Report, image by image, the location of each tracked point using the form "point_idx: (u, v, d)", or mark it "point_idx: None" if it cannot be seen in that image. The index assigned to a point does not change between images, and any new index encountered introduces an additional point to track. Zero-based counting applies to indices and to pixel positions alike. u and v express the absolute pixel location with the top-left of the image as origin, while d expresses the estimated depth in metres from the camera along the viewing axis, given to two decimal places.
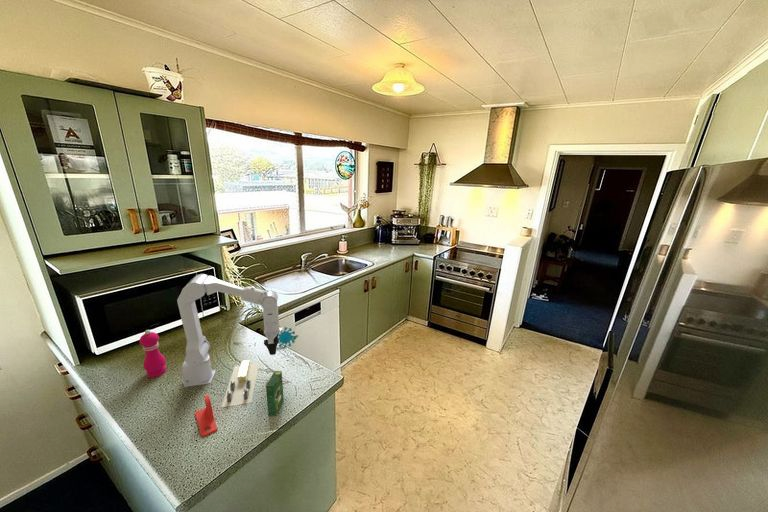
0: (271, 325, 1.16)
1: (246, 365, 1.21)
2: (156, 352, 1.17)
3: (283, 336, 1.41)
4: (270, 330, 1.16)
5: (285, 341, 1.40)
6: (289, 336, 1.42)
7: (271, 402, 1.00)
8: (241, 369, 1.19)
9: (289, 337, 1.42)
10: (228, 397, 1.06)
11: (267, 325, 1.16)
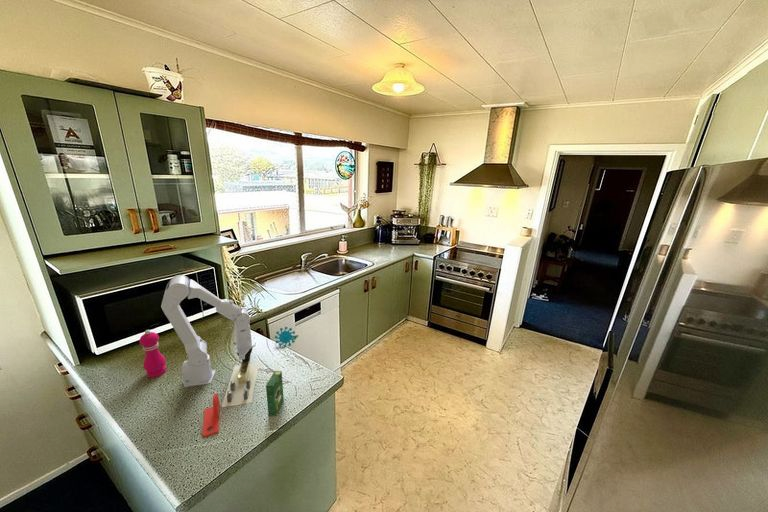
0: (243, 341, 1.19)
1: (246, 366, 1.21)
2: (156, 352, 1.17)
3: (283, 336, 1.41)
4: (242, 346, 1.20)
5: (285, 341, 1.40)
6: (289, 336, 1.42)
7: (271, 402, 1.00)
8: (241, 370, 1.18)
9: (289, 337, 1.42)
10: (228, 397, 1.06)
11: (239, 341, 1.19)
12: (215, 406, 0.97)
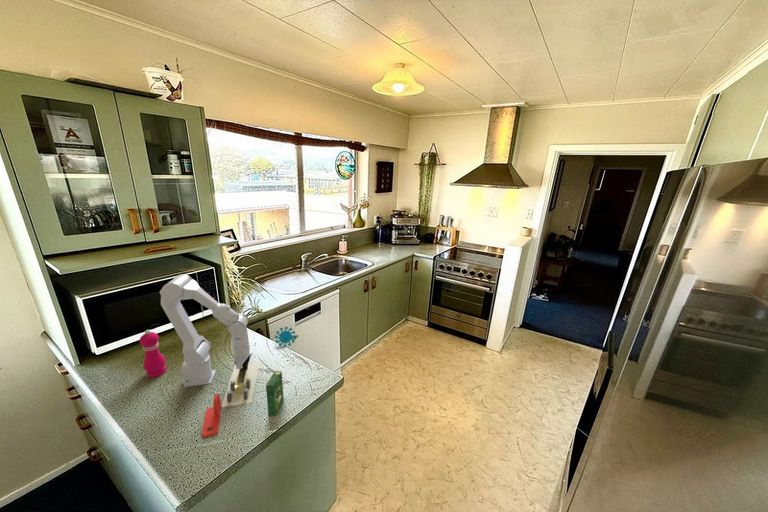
0: (240, 349, 1.14)
1: (243, 375, 1.16)
2: (156, 352, 1.17)
3: (283, 335, 1.41)
4: (239, 354, 1.15)
5: (285, 340, 1.41)
6: (289, 336, 1.42)
7: (271, 402, 1.00)
8: (238, 379, 1.13)
9: (289, 337, 1.42)
10: (228, 397, 1.06)
11: (236, 349, 1.14)
12: (215, 407, 0.97)
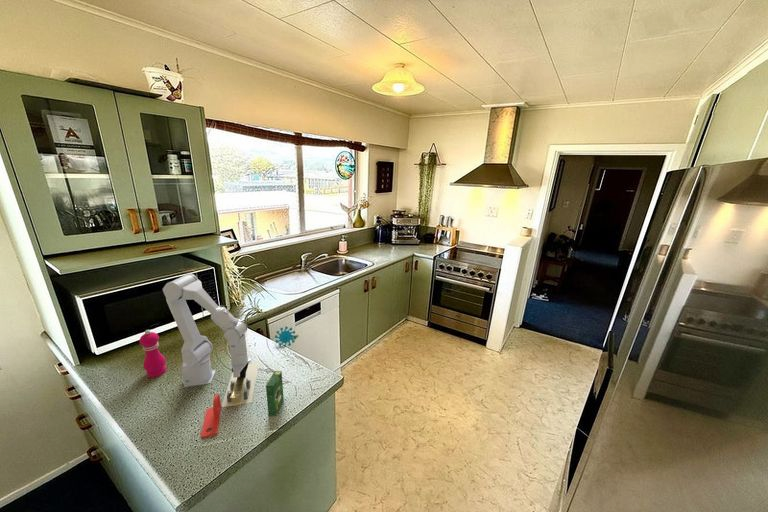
0: (238, 357, 1.10)
1: (241, 383, 1.11)
2: (156, 352, 1.17)
3: (283, 335, 1.41)
4: (236, 362, 1.10)
5: (285, 340, 1.41)
6: (289, 336, 1.42)
7: (271, 402, 1.00)
8: (235, 388, 1.09)
9: (289, 337, 1.42)
10: (228, 397, 1.06)
11: (233, 357, 1.09)
12: (215, 407, 0.97)
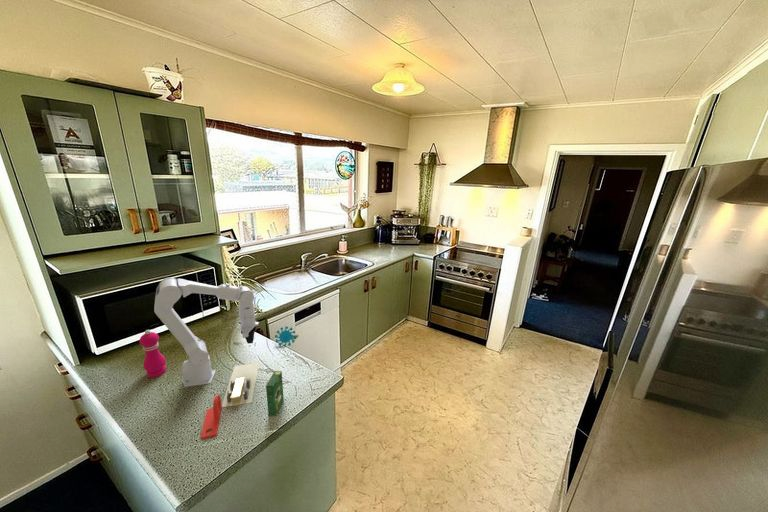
0: (246, 319, 1.19)
1: (241, 383, 1.11)
2: (156, 352, 1.17)
3: (283, 335, 1.42)
4: (245, 324, 1.20)
5: (285, 340, 1.41)
6: (289, 335, 1.42)
7: (271, 402, 1.00)
8: (235, 388, 1.09)
9: (289, 336, 1.42)
10: (228, 397, 1.06)
11: (242, 319, 1.19)
12: (215, 408, 0.97)
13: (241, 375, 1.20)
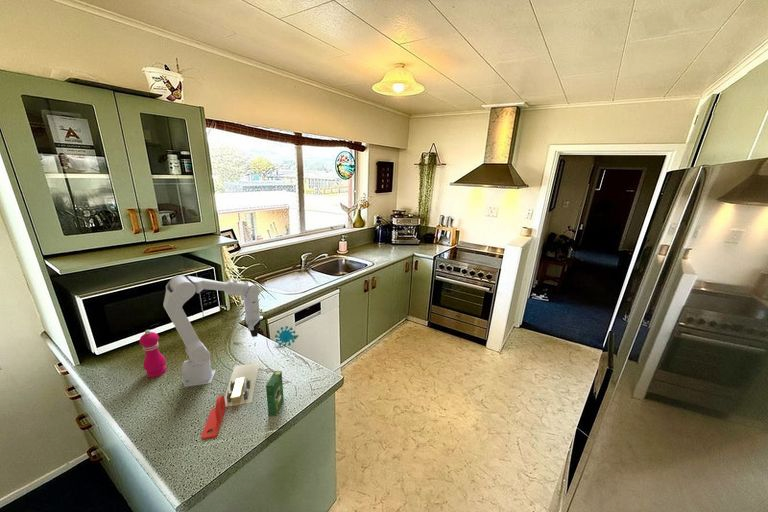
0: (251, 313, 1.25)
1: (241, 383, 1.11)
2: (156, 352, 1.17)
3: (283, 335, 1.42)
4: (250, 318, 1.25)
5: (285, 340, 1.41)
6: (289, 335, 1.43)
7: (271, 402, 1.00)
8: (235, 388, 1.09)
9: (289, 336, 1.42)
10: (228, 397, 1.06)
11: (248, 313, 1.24)
12: (217, 409, 0.96)
13: (241, 375, 1.20)
